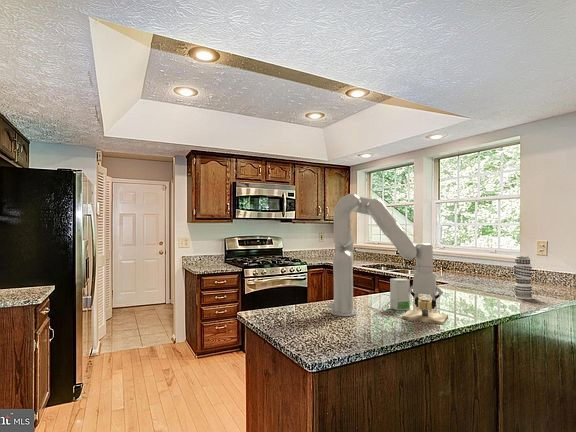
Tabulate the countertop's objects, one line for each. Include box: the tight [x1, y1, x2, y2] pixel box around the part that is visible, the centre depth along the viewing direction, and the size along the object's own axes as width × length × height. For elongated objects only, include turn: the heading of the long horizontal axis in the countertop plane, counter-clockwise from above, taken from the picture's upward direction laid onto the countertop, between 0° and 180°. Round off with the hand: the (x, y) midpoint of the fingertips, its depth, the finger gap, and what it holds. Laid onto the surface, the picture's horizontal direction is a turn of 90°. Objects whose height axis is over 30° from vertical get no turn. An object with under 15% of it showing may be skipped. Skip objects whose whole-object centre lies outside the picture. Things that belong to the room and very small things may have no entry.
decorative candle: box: [513, 255, 533, 300], centre depth 207 cm, size 9×9×25 cm
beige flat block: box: [401, 309, 449, 325], centre depth 163 cm, size 18×14×6 cm
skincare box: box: [389, 277, 411, 311], centre depth 181 cm, size 8×7×16 cm
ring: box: [417, 299, 434, 311], centre depth 163 cm, size 7×7×4 cm
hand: (425, 307), depth 163 cm, fingers closed on ring, 6 cm apart
